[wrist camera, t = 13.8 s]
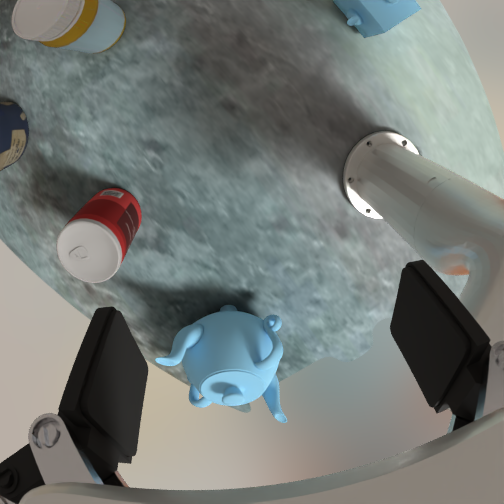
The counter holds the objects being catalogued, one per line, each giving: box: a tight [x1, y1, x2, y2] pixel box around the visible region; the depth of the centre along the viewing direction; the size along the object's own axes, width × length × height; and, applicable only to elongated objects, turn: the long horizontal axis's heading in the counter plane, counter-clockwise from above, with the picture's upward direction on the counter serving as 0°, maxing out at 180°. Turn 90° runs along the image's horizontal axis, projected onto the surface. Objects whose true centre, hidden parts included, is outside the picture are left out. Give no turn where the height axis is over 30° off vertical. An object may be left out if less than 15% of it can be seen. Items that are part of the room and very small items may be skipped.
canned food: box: [56, 188, 141, 283], centre depth 34 cm, size 8×8×11 cm
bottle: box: [12, 0, 126, 54], centre depth 19 cm, size 7×7×15 cm
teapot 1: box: [155, 305, 287, 423], centre depth 45 cm, size 16×20×14 cm
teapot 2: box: [333, 0, 421, 38], centre depth 24 cm, size 12×6×8 cm, turn 133°
